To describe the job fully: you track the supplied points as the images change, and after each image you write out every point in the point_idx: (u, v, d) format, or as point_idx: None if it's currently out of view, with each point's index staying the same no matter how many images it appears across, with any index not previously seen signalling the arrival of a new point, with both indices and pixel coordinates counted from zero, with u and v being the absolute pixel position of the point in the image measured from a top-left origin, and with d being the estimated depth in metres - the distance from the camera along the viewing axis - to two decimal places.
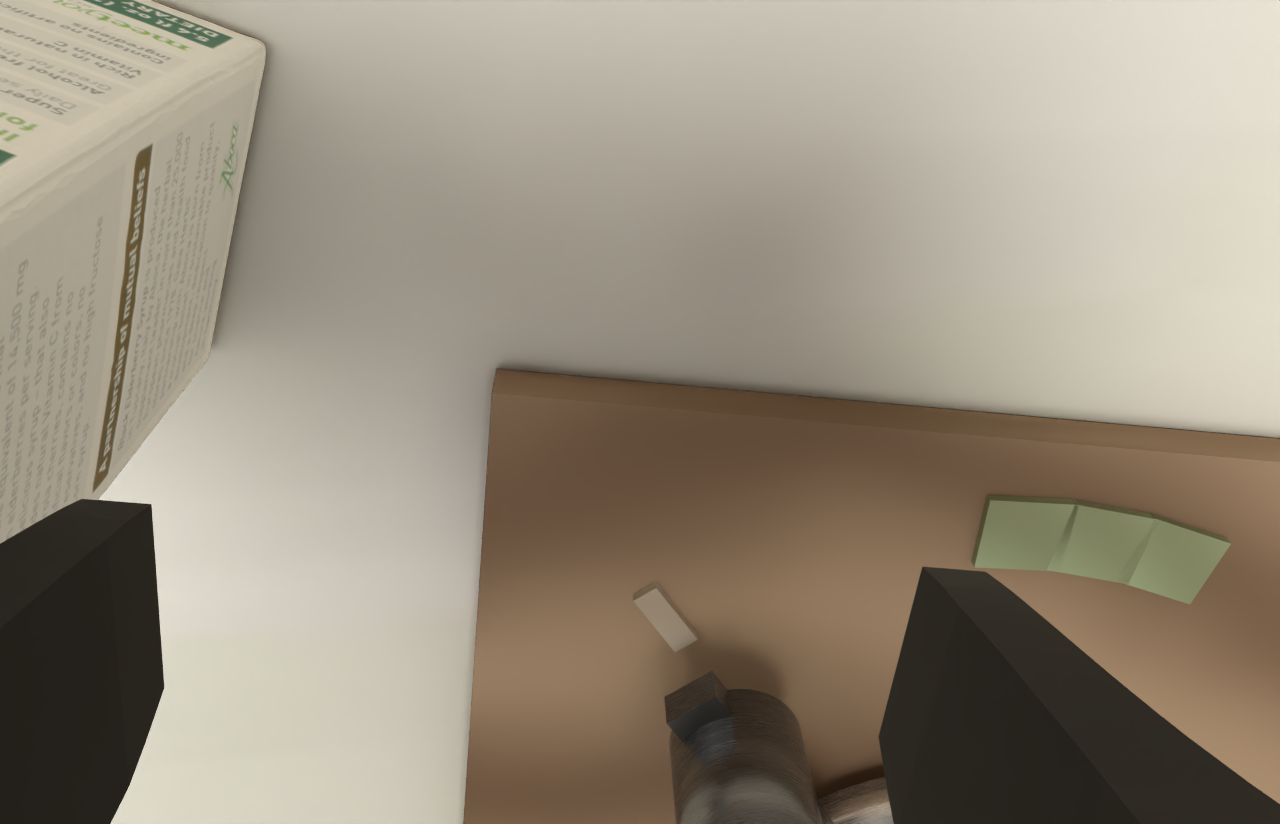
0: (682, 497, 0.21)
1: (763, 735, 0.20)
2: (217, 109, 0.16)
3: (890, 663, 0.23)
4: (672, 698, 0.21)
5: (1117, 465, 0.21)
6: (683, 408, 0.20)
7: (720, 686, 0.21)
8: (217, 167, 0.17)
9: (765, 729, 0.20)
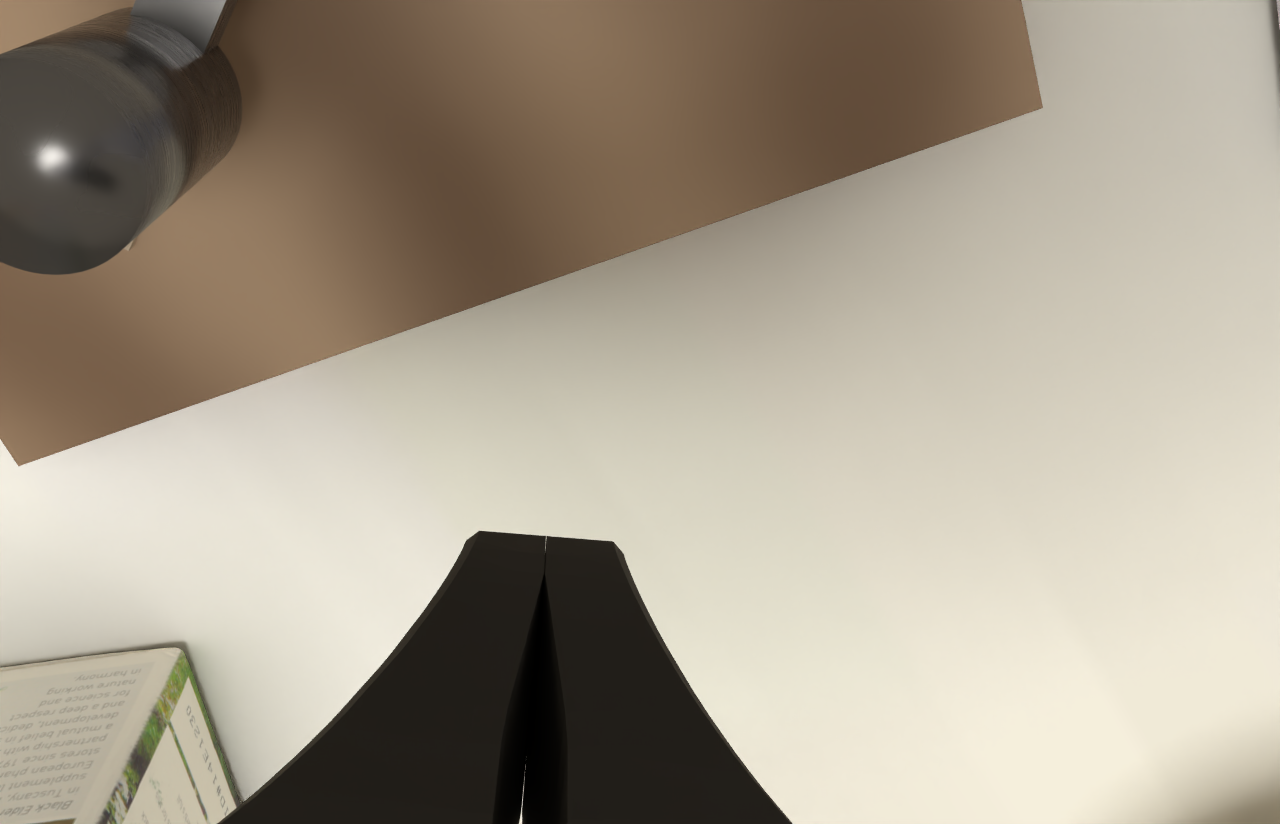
0: None
1: None
2: None
3: None
4: None
5: None
6: None
7: None
8: None
9: None
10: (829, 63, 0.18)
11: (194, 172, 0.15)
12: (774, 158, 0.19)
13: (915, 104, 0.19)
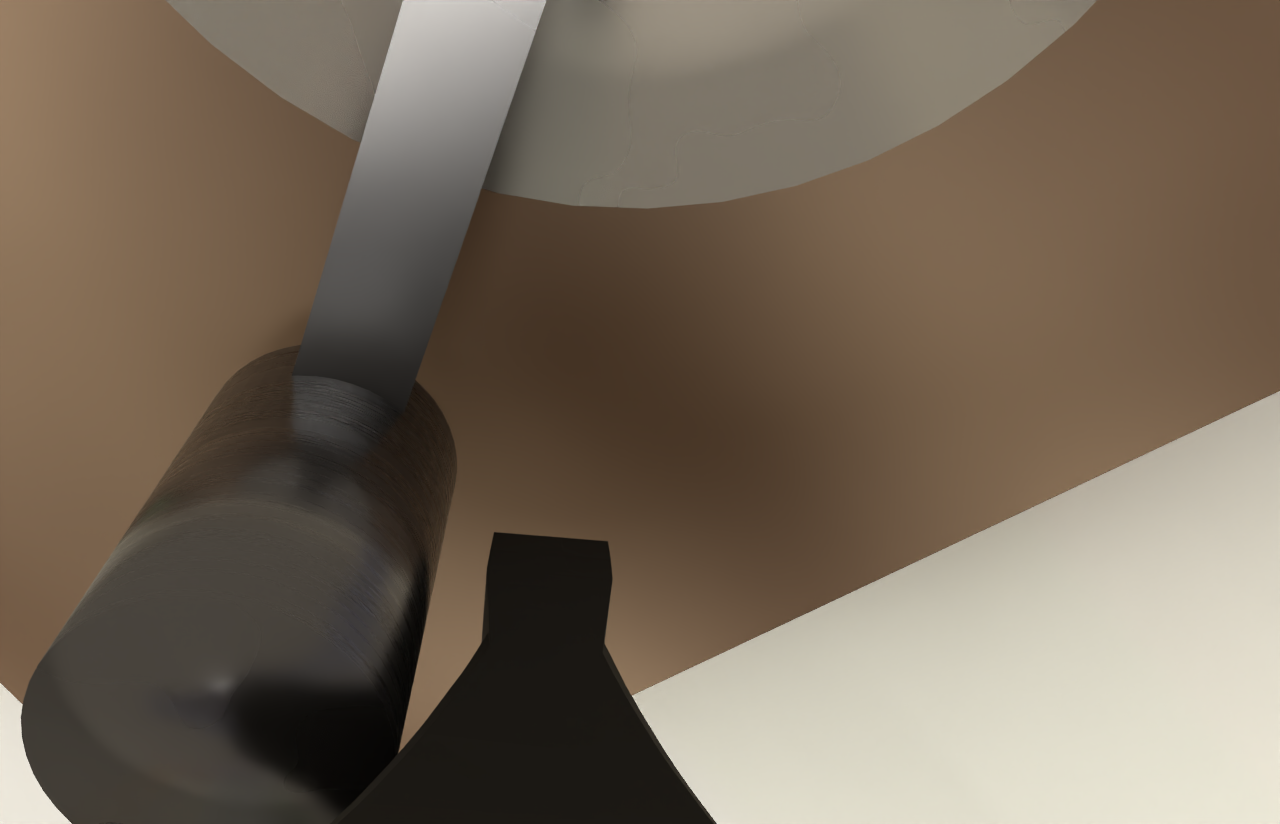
0: None
1: None
2: None
3: (114, 203, 0.12)
4: None
5: None
6: None
7: None
8: None
9: None
10: None
11: None
12: (1210, 367, 0.13)
13: None
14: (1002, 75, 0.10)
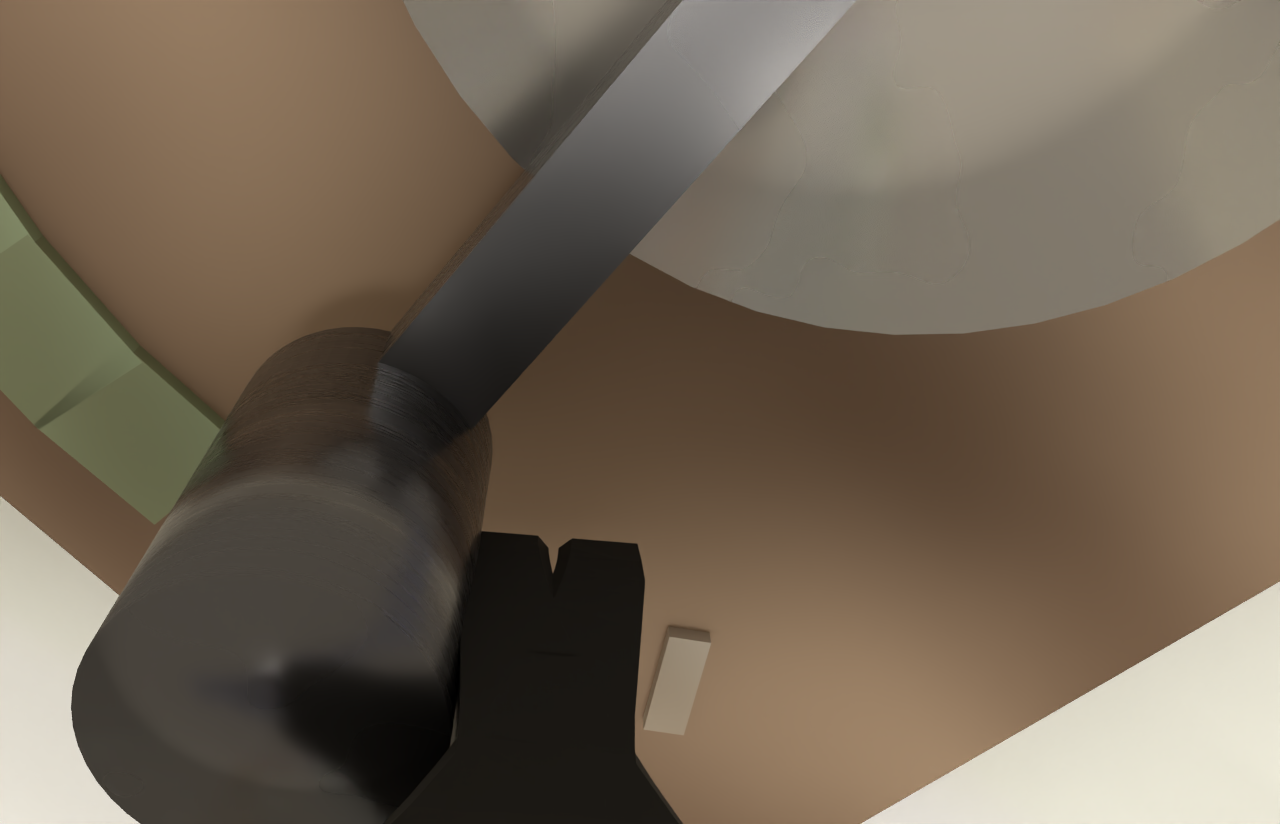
0: None
1: None
2: None
3: None
4: None
5: None
6: None
7: None
8: None
9: None
10: None
11: None
12: None
13: None
14: (1102, 300, 0.11)
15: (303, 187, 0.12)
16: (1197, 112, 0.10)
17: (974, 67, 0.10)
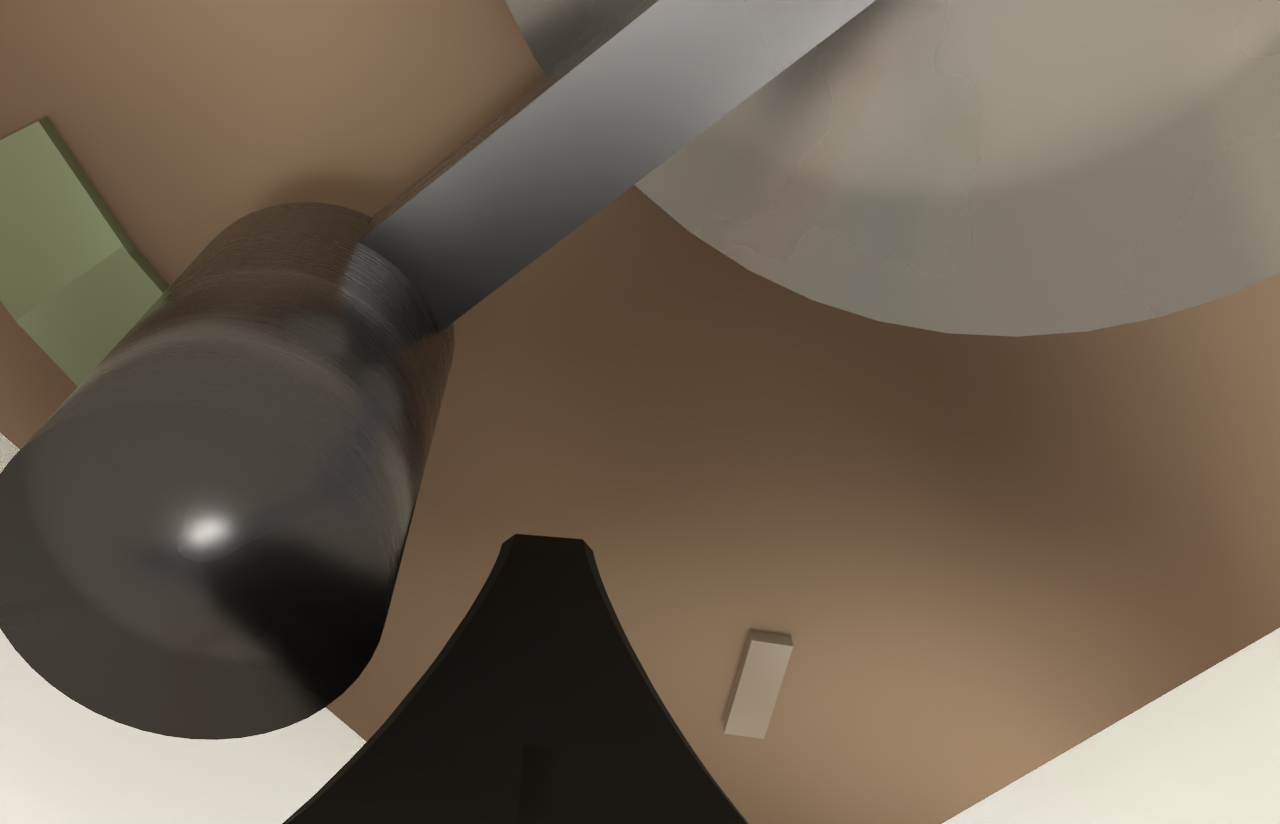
0: None
1: None
2: None
3: (568, 383, 0.13)
4: None
5: None
6: None
7: None
8: None
9: None
10: None
11: None
12: None
13: None
14: (1085, 325, 0.11)
15: (394, 196, 0.12)
16: (1213, 156, 0.10)
17: (1013, 65, 0.10)
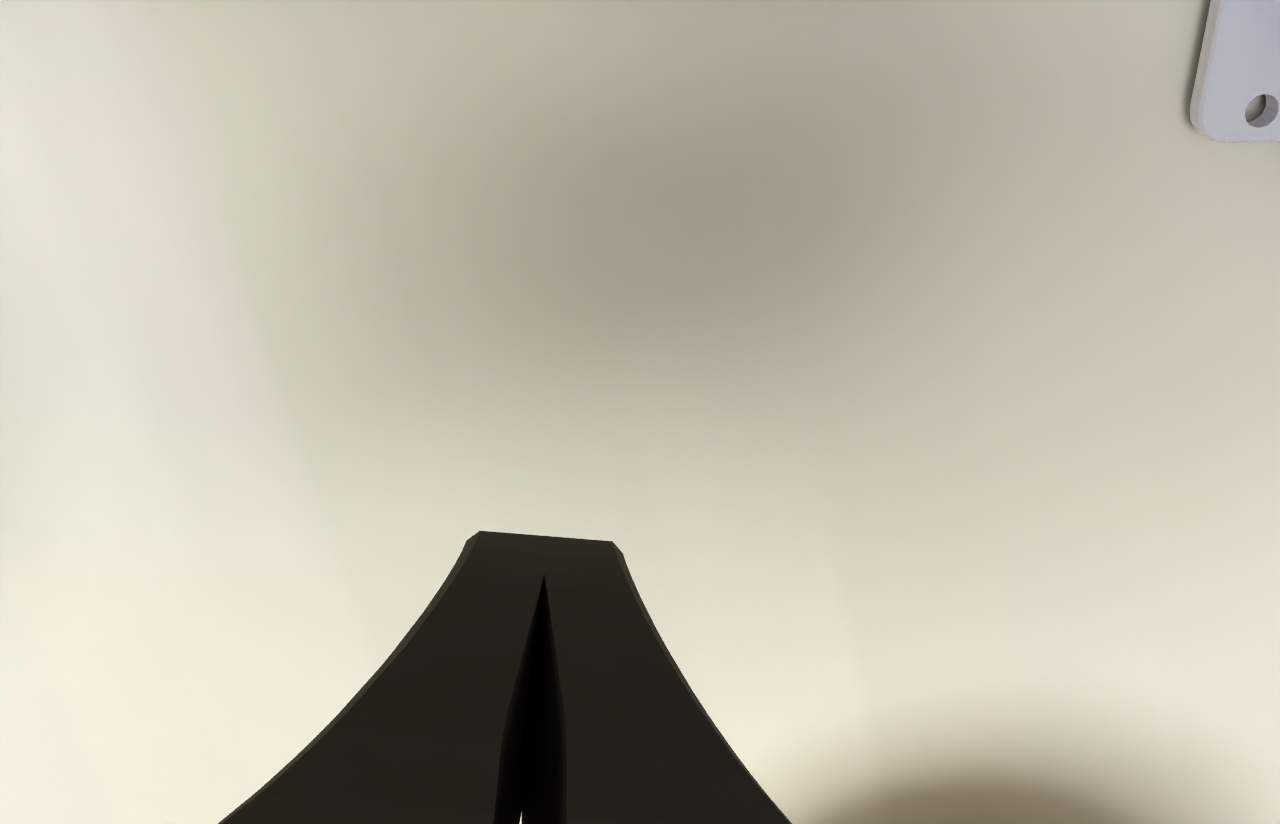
0: None
1: None
2: None
3: None
4: None
5: None
6: None
7: None
8: None
9: None
10: None
11: None
12: None
13: None
14: None
15: None
16: None
17: None
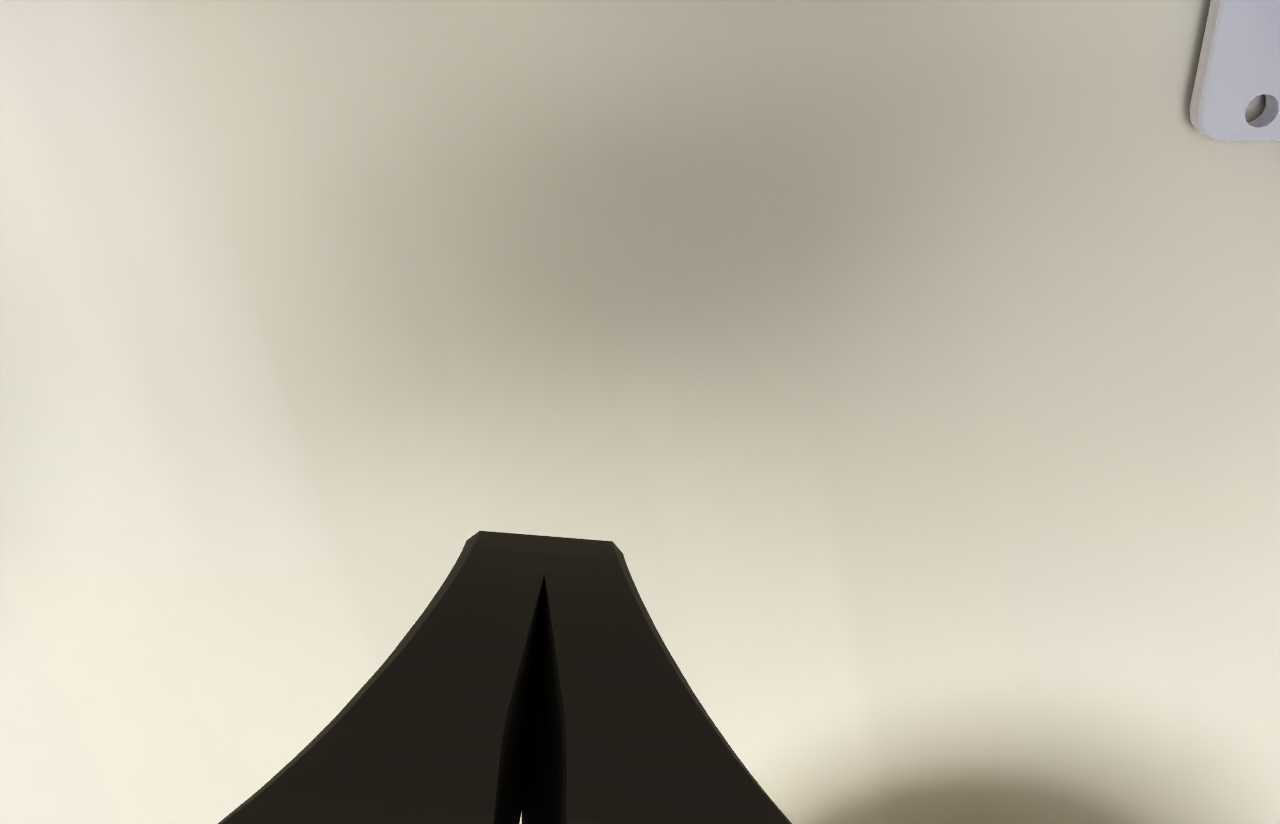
0: None
1: None
2: None
3: None
4: None
5: None
6: None
7: None
8: None
9: None
10: None
11: None
12: None
13: None
14: None
15: None
16: None
17: None
